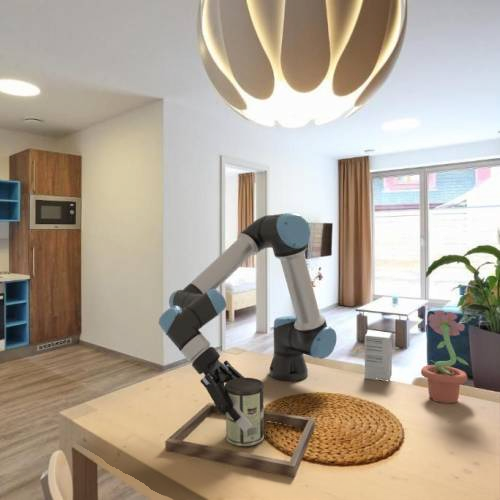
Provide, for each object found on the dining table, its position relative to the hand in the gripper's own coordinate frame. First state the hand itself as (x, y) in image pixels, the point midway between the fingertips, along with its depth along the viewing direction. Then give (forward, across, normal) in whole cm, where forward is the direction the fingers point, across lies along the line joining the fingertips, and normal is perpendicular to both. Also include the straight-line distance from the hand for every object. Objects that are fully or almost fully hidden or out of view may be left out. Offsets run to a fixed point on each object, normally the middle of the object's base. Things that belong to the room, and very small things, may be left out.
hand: (255, 419), depth 102 cm
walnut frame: (+2, 0, -6) cm, 6 cm away
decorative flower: (+40, -46, +32) cm, 69 cm away
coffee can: (+2, 0, -6) cm, 6 cm away
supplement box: (+25, -63, +16) cm, 70 cm away
